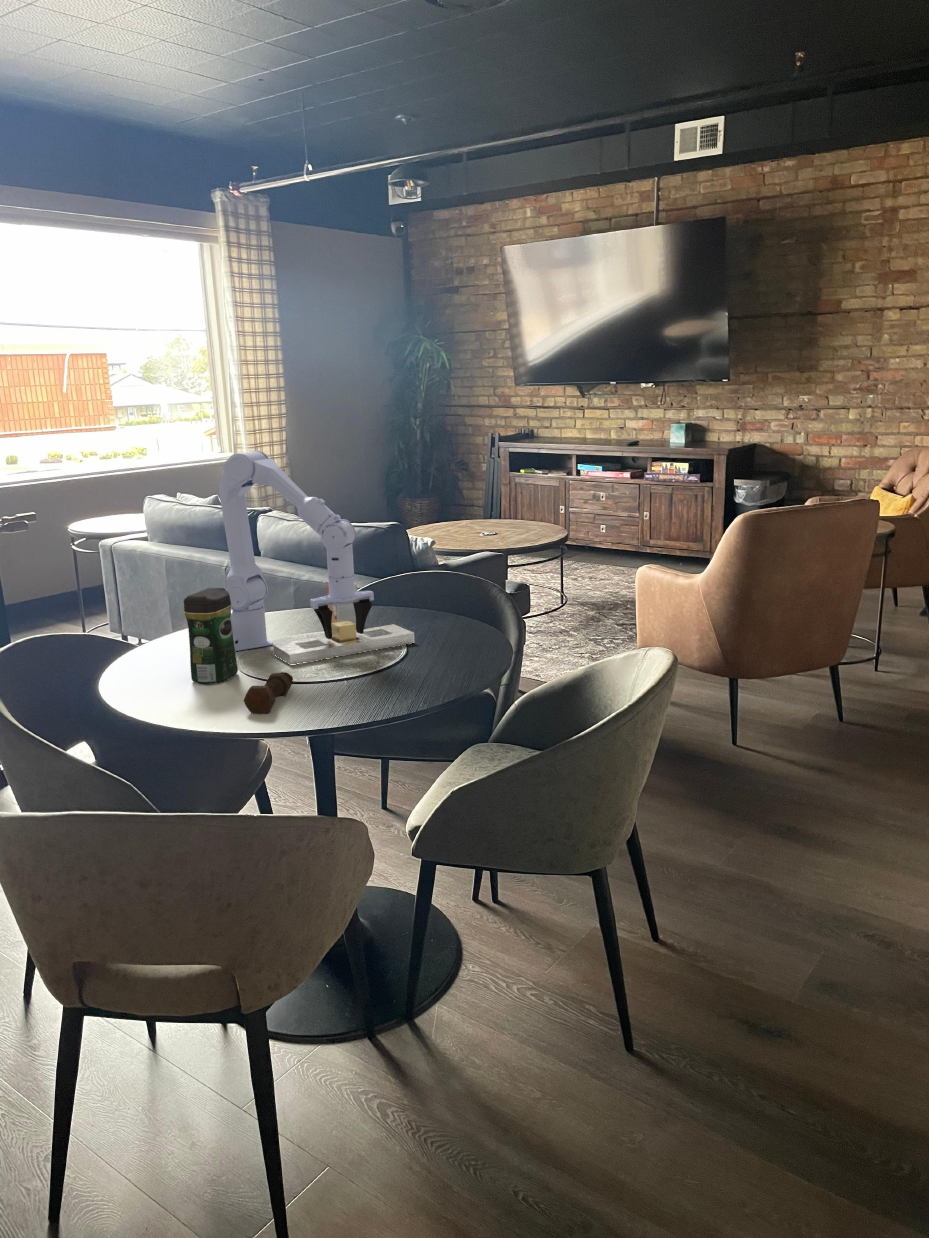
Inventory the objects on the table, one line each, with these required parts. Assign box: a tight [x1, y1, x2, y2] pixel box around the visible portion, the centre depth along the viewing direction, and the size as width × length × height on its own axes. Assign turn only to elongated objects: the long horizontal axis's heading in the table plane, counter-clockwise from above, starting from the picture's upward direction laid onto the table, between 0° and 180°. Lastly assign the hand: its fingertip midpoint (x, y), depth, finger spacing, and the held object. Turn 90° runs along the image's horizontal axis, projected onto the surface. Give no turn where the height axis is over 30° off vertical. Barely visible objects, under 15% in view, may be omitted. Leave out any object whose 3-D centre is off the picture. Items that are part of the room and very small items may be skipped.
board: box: [272, 623, 415, 664], centre depth 205 cm, size 30×10×2 cm, turn 122°
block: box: [331, 621, 357, 643], centre depth 205 cm, size 4×4×6 cm
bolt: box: [243, 671, 294, 715], centre depth 172 cm, size 6×5×15 cm
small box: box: [325, 580, 358, 624], centre depth 229 cm, size 8×6×10 cm
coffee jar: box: [183, 587, 239, 686], centre depth 184 cm, size 10×8×19 cm
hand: (344, 635), depth 205 cm, fingers open, 7 cm apart
